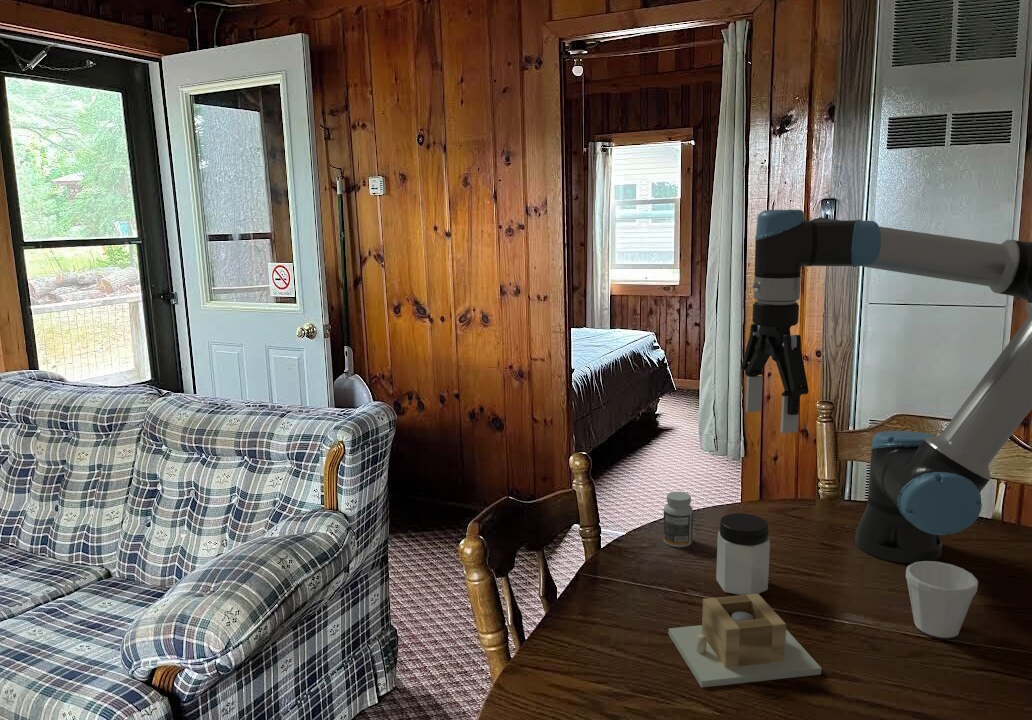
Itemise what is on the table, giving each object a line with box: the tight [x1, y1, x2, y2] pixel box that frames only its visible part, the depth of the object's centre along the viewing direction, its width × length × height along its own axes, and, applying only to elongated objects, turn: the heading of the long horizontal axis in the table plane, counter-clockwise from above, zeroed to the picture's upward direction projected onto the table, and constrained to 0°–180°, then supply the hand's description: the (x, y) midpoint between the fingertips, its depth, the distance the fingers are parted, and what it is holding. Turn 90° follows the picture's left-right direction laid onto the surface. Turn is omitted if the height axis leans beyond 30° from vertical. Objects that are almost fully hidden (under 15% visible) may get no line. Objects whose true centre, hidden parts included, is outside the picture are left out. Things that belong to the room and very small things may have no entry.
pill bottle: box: [662, 491, 694, 548], centre depth 155 cm, size 6×6×10 cm
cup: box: [905, 561, 979, 640], centre depth 123 cm, size 10×10×9 cm
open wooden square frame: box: [701, 593, 787, 668], centre depth 117 cm, size 9×9×6 cm
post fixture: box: [668, 612, 822, 688], centre depth 117 cm, size 18×14×6 cm
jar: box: [715, 512, 771, 596], centre depth 137 cm, size 9×8×12 cm
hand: (770, 421), depth 138 cm, fingers open, 13 cm apart
